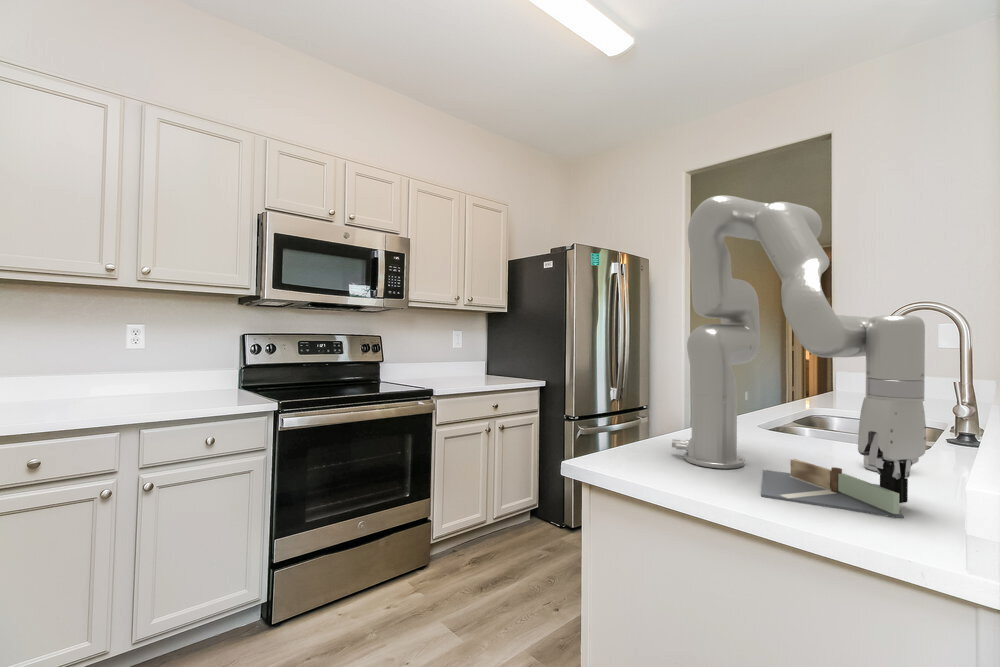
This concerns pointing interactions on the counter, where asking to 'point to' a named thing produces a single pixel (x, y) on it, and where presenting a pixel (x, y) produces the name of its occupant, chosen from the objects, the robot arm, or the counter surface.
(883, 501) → the fence hinged panel
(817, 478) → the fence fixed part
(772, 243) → the robot arm
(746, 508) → the counter surface
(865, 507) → the board
